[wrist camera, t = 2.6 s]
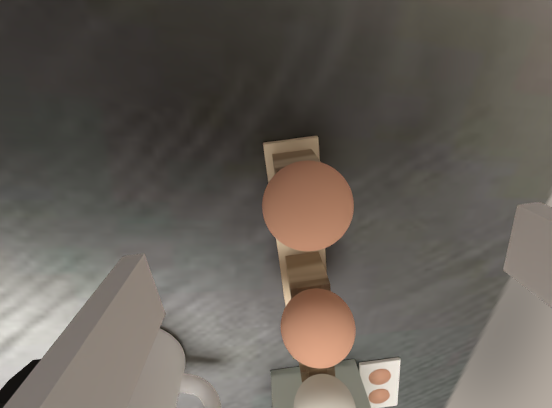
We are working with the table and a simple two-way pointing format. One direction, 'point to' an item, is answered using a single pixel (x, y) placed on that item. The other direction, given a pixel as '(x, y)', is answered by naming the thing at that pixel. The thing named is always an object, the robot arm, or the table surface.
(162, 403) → the mug
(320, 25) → the table surface
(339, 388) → the ball
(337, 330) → the ball
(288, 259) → the rack
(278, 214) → the ball
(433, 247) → the table surface
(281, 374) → the grey-green tall hollow box
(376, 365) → the card
